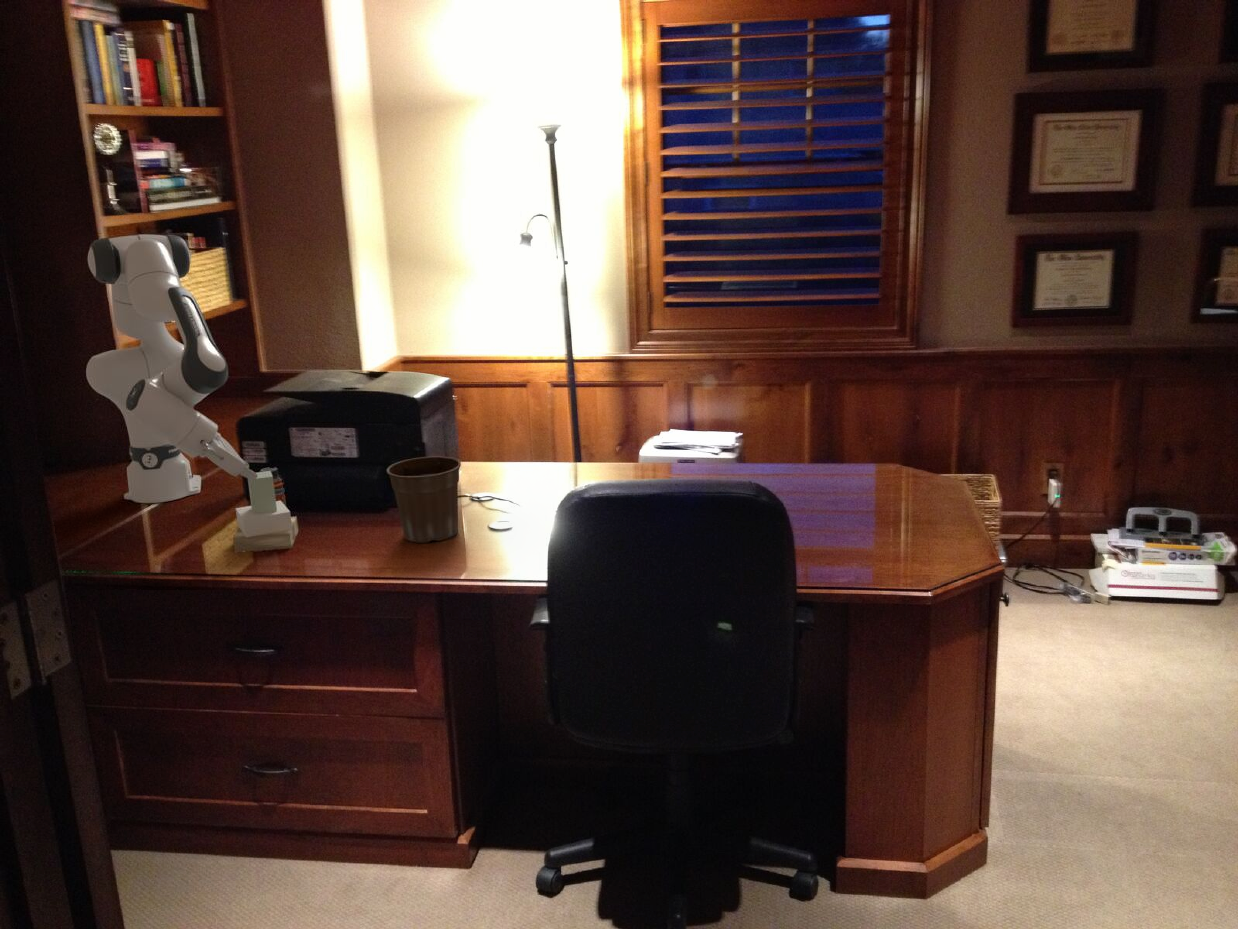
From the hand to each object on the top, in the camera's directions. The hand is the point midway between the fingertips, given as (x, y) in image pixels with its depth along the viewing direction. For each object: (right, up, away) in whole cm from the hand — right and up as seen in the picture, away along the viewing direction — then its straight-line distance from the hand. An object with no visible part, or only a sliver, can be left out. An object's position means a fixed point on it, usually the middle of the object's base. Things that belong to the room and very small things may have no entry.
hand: (251, 473), depth 245 cm
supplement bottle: (-2, -10, +24) cm, 26 cm away
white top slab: (+2, -12, +4) cm, 13 cm away
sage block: (+2, -8, +3) cm, 9 cm away
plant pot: (+39, -14, +5) cm, 42 cm away
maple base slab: (+2, -16, +5) cm, 17 cm away
